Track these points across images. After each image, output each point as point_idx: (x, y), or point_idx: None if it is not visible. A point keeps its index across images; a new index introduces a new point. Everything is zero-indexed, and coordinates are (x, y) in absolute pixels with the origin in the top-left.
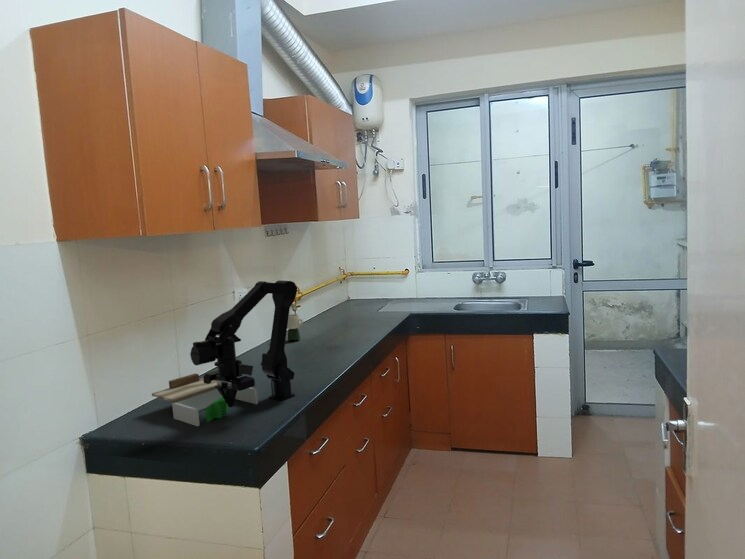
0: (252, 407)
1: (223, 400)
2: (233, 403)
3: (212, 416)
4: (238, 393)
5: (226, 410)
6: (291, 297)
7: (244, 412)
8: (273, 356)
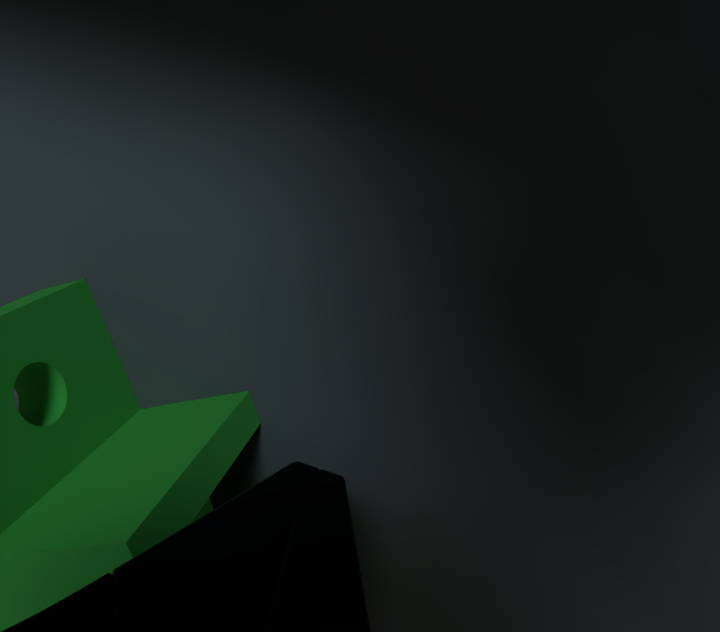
0: (566, 30)
1: (83, 578)
2: (347, 524)
3: None
4: None
5: (239, 448)
6: None
7: (556, 343)
8: None
